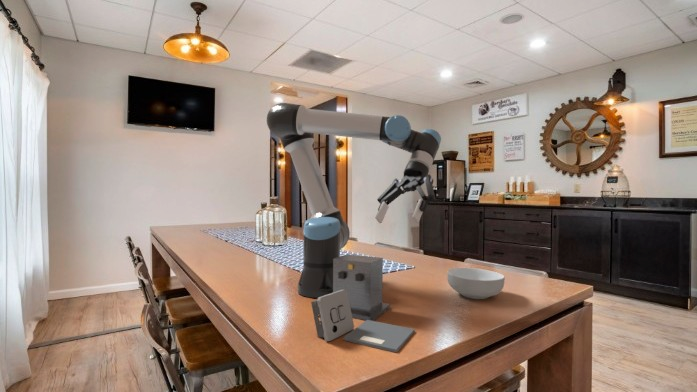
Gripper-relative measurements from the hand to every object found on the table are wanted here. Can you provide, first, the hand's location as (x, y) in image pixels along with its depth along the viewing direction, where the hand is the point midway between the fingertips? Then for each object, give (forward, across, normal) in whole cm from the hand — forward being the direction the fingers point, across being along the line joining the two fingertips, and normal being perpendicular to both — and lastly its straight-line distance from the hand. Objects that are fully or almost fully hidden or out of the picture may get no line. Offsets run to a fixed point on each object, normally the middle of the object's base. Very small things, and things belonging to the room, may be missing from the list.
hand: (395, 220), depth 103 cm
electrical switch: (+38, -3, +8) cm, 39 cm away
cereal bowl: (+6, -13, -33) cm, 35 cm away
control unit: (+27, +4, -4) cm, 28 cm away
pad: (+34, -12, +2) cm, 36 cm away
